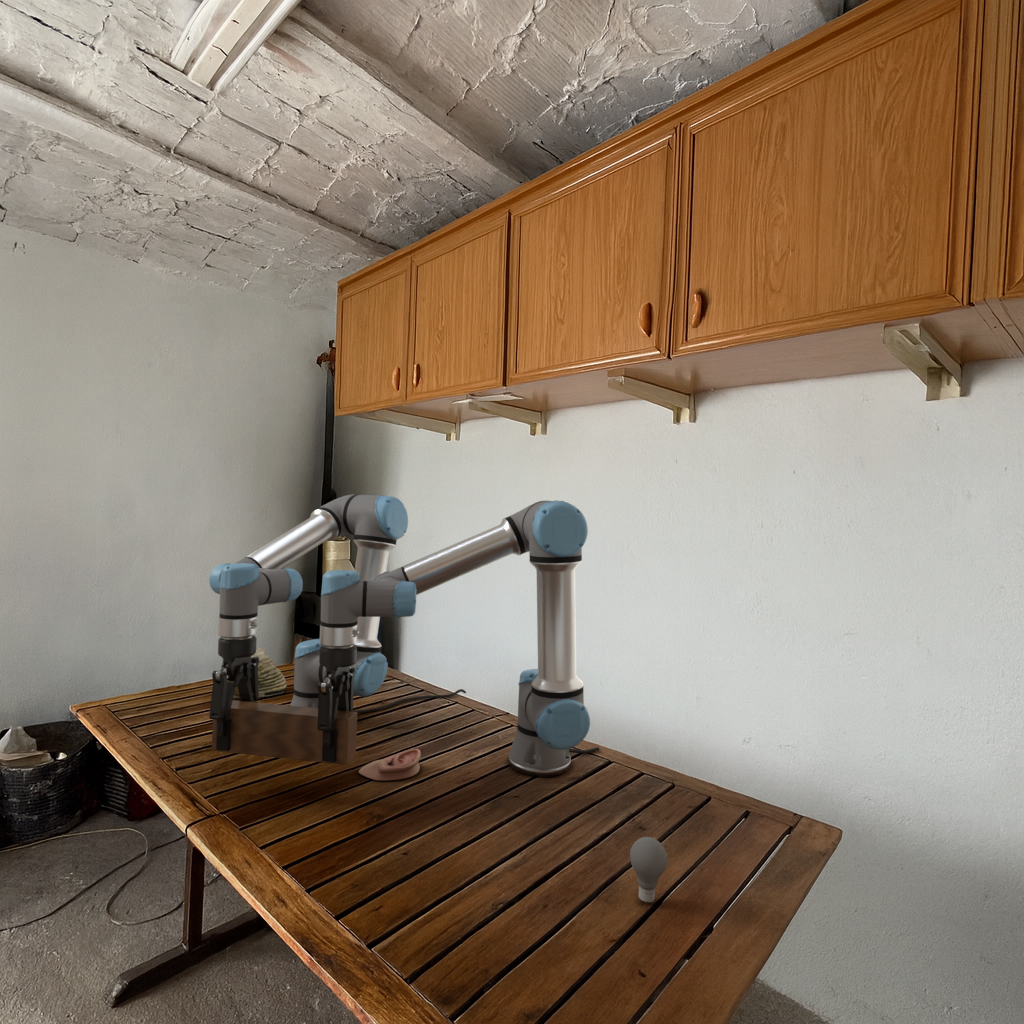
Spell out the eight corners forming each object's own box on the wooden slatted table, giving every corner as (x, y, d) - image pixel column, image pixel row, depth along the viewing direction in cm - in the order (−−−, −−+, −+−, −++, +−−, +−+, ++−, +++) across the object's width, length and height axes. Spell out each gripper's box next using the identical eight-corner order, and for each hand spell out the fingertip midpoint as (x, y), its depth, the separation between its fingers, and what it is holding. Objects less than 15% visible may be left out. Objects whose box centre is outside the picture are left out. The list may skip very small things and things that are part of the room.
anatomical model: (353, 759, 143) (374, 741, 154) (352, 777, 143) (373, 757, 154) (408, 767, 140) (426, 748, 152) (408, 785, 140) (425, 764, 152)
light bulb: (623, 888, 106) (626, 829, 106) (658, 888, 107) (661, 829, 106) (633, 912, 100) (636, 849, 100) (670, 911, 101) (673, 849, 100)
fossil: (218, 695, 195) (220, 647, 195) (278, 685, 208) (279, 640, 207) (228, 703, 189) (230, 653, 188) (289, 692, 201) (290, 645, 201)
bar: (211, 750, 134) (213, 706, 134) (224, 742, 139) (226, 699, 138) (346, 765, 130) (348, 719, 129) (355, 756, 134) (357, 711, 134)
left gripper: (226, 648, 125) (222, 763, 125) (278, 628, 145) (274, 728, 145) (191, 645, 126) (187, 759, 126) (247, 626, 146) (244, 725, 146)
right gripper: (337, 656, 123) (333, 775, 123) (371, 637, 140) (367, 741, 141) (301, 653, 124) (297, 771, 124) (339, 634, 141) (335, 738, 142)
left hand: (233, 742), depth 136 cm, fingers open, 7 cm apart
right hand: (334, 755), depth 132 cm, fingers closed on bar, 5 cm apart
